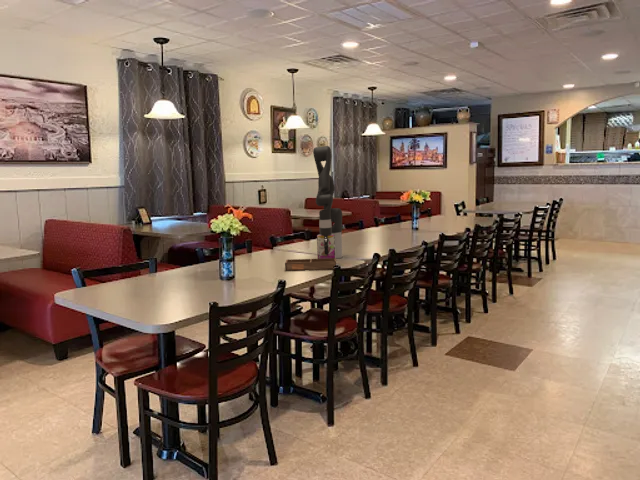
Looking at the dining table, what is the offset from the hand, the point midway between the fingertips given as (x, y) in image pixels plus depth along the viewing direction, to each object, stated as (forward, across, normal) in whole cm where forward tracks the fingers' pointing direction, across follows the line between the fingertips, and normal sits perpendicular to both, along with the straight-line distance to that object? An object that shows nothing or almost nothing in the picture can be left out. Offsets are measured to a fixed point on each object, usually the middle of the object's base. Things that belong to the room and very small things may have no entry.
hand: (326, 253), depth 314 cm
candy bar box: (+5, 0, 0) cm, 5 cm away
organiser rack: (+7, -11, +10) cm, 16 cm away
